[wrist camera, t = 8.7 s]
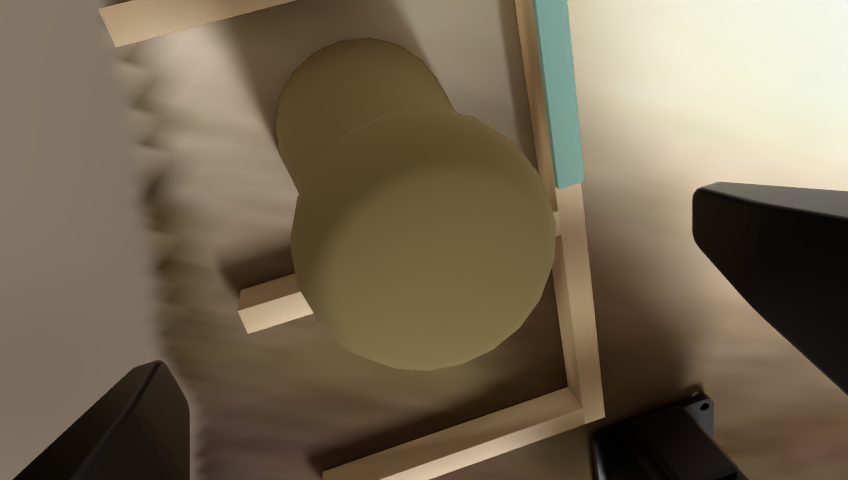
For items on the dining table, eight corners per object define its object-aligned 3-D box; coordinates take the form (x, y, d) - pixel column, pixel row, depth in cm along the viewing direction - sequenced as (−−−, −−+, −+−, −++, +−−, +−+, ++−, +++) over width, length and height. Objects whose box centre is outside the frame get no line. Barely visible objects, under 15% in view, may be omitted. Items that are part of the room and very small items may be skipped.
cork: (377, 241, 21) (455, 463, 12) (237, 145, 19) (188, 327, 9) (483, 116, 20) (669, 246, 10) (350, -4, 18) (432, 19, 8)
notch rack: (589, 395, 27) (608, 421, 26) (328, 486, 26) (331, 519, 24) (474, -592, 13) (500, -672, 11) (-113, -498, 12) (-176, -574, 10)
